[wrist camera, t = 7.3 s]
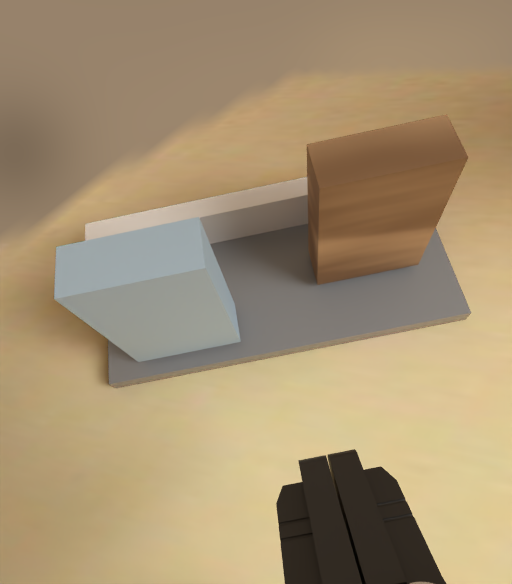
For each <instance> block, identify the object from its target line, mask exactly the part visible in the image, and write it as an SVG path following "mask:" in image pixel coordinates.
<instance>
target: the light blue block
mask: <svg viewBox="0 0 512 584" xmlns="http://www.w3.org/2000/svg"><path fill="white" fill-rule="evenodd" d="M54 299H55V300H56V301H57V302H59V303H60V304H61V305H63V306H64V307H65V308H67V309H68V310H69V311H71V312H72V313H73V314H75V315H76V316H77V317H79V318H80V319H81V320H83V321H84V322H85V323H87V324H88V325H89V326H91V327H92V328H93V329H95V330H96V331H97V332H99V333H100V334H101V335H103V336H104V337H105V338H107V339H108V340H109V341H111V342H112V343H113V344H115V345H116V346H118V347H119V348H120V349H122V350H123V351H124V352H126V353H127V354H128V355H130V356H131V357H132V358H134V359H135V360H136V361H138V362H142V361H147V360H152V359H157V358H162V357H167V356H172V355H177V354H182V353H187V352H192V351H197V350H202V349H207V348H212V347H217V346H222V345H228V344H233V343H238V342H241V340H240V334H239V327H238V321H237V315H236V309H235V303H234V301H233V298H232V296H231V294H230V291H229V289H228V286H227V284H226V281H225V279H224V277H223V274H222V272H221V269H220V267H219V265H218V262H217V260H216V257H215V255H214V252H213V250H212V248H211V245H210V243H209V240H208V238H207V235H206V233H205V231H204V228H203V226H202V223H201V221H200V219H199V217H196V218H191V219H186V220H181V221H177V222H172V223H167V224H162V225H158V226H153V227H148V228H143V229H139V230H134V231H129V232H124V233H120V234H115V235H110V236H105V237H101V238H96V239H91V240H86V241H82V242H77V243H72V244H67V245H63V246H58V247H56V264H55V288H54Z"/></svg>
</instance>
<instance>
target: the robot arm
mask: <svg viewBox="0 0 512 584" xmlns="http://www.w3.org/2000/svg"><path fill="white" fill-rule="evenodd" d="M328 461H329V465H328ZM328 461H327V458H326V455H325V456H320V457H314V458H309V459H304V460H299V466H300V471H301V476H302V481H303V482H300V483H295V484H290V485H285V486H283V487H282V489H281V492H280V495H279V498H278V501H277V503H276V504H277V514H278V523H279V532H280V540H281V551H282V560H283V569H284V578H285V584H446V582H445V581H444V579H443V577H442V576H441V573H440V571H439V569H438V567H437V565H436V563H435V561H434V559H433V556H432V554H431V552H430V550H429V548H428V546H427V544H426V542H425V540H424V537H423V535H422V533H421V531H420V529H419V527H418V525H417V523H416V520H415V518H414V517H413V515H412V512H411V510H410V508H409V506H408V504H407V502H406V500H405V497H404V495H403V493H402V491H401V489H400V487H399V484H398V482H397V480H396V479H395V478H393V477H392V476H391V475H390V474H389V473H388V472H387V471H386V470H384V469H383V468H382V467H376V468H371V469H366V470H363V467H362V465H361V462H360V460H359V457H358V454H357V452H356V450H355V449H354V450H349V451H344V452H339V453H334V454H329V455H328ZM329 466H330V469H329Z"/></svg>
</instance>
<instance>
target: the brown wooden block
mask: <svg viewBox="0 0 512 584" xmlns="http://www.w3.org/2000/svg"><path fill="white" fill-rule="evenodd" d="M467 159H468V156H467V154H466V152H465V150H464V148H463V146H462V144H461V142H460V140H459V138H458V136H457V134H456V132H455V130H454V128H453V126H452V124H451V122H450V120H449V118H448V116H447V115H442V116H437V117H433V118H428V119H423V120H419V121H414V122H409V123H405V124H400V125H396V126H391V127H386V128H382V129H377V130H372V131H368V132H363V133H358V134H354V135H349V136H344V137H340V138H335V139H330V140H326V141H321V142H316V143H312V144H307V188H308V250H309V255H310V259H311V262H312V266H313V270H314V274H315V278H316V282H317V285H320V284H325V283H330V282H335V281H340V280H345V279H350V278H355V277H360V276H365V275H370V274H375V273H380V272H385V271H389V270H394V269H399V268H404V267H409V266H414V265H418V264H419V262H420V260H421V258H422V256H423V253H424V251H425V249H426V247H427V245H428V243H429V241H430V238H431V236H432V234H433V232H434V230H435V228H436V226H437V223H438V221H439V219H440V217H441V215H442V213H443V211H444V208H445V206H446V204H447V202H448V200H449V198H450V195H451V193H452V191H453V189H454V187H455V185H456V183H457V180H458V178H459V176H460V174H461V172H462V170H463V168H464V165H465V163H466V161H467Z"/></svg>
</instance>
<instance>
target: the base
mask: <svg viewBox="0 0 512 584" xmlns="http://www.w3.org/2000/svg"><path fill="white" fill-rule="evenodd" d="M196 217H199V219H200V221H201V223H202V226H203V228H204V231H205V233H206V235H207V238H208V240H209V243H210V245H211V248H212V250H213V252H214V255H215V257H216V260H217V262H218V265H219V267H220V269H221V272H222V274H223V277H224V279H225V281H226V284H227V286H228V289H229V291H230V294H231V296H232V298H233V301H234V303H235V309H236V315H237V321H238V327H239V334H240V340H241V342H238V343H233V344H228V345H222V346H217V347H212V348H207V349H202V350H197V351H192V352H187V353H182V354H177V355H172V356H167V357H162V358H157V359H152V360H147V361H142V362H138V361H136V360H135V359H134V358H132V357H131V356H130V355H128V354H127V353H126V352H124V351H123V350H122V349H120V348H119V347H118V346H116V345H115V344H113V343H112V342H111V341H109V340H108V367H109V385H111V386H113V387H115V388H119V387H124V386H130V385H135V384H140V383H145V382H150V381H155V380H160V379H165V378H170V377H175V376H180V375H185V374H190V373H196V372H201V371H206V370H211V369H216V368H221V367H226V366H231V365H236V364H241V363H246V362H251V361H256V360H262V359H267V358H272V357H277V356H282V355H287V354H292V353H297V352H302V351H307V350H312V349H317V348H322V347H327V346H333V345H338V344H343V343H348V342H353V341H358V340H363V339H368V338H373V337H378V336H383V335H388V334H393V333H399V332H404V331H409V330H414V329H419V328H424V327H429V326H434V325H439V324H444V323H449V322H454V321H459V320H465V319H466V318H467V317H468V316H469V315H470V314H471V311H470V309H469V307H468V304H467V302H466V299H465V297H464V295H463V292H462V290H461V288H460V285H459V283H458V280H457V278H456V276H455V273H454V271H453V268H452V266H451V264H450V261H449V259H448V256H447V254H446V252H445V249H444V247H443V244H442V242H441V240H440V237H439V235H438V232H437V230H436V228H435V230H434V232H433V234H432V236H431V238H430V241H429V243H428V245H427V247H426V249H425V251H424V253H423V256H422V258H421V260H420V262H419V264H418V265H414V266H409V267H404V268H399V269H394V270H389V271H385V272H380V273H375V274H370V275H365V276H360V277H355V278H350V279H345V280H340V281H335V282H330V283H325V284H320V285H317V282H316V278H315V274H314V270H313V266H312V262H311V259H310V255H309V250H308V188H307V177H303V178H299V179H294V180H289V181H285V182H280V183H275V184H270V185H266V186H261V187H256V188H252V189H247V190H242V191H237V192H233V193H228V194H223V195H218V196H214V197H209V198H204V199H200V200H195V201H190V202H185V203H181V204H176V205H171V206H166V207H162V208H157V209H152V210H148V211H143V212H138V213H133V214H129V215H124V216H119V217H115V218H110V219H105V220H100V221H96V222H91V223H86V224H85V241H86V240H91V239H96V238H101V237H105V236H110V235H115V234H120V233H124V232H129V231H134V230H139V229H143V228H148V227H153V226H158V225H162V224H167V223H172V222H177V221H181V220H186V219H191V218H196Z"/></svg>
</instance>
